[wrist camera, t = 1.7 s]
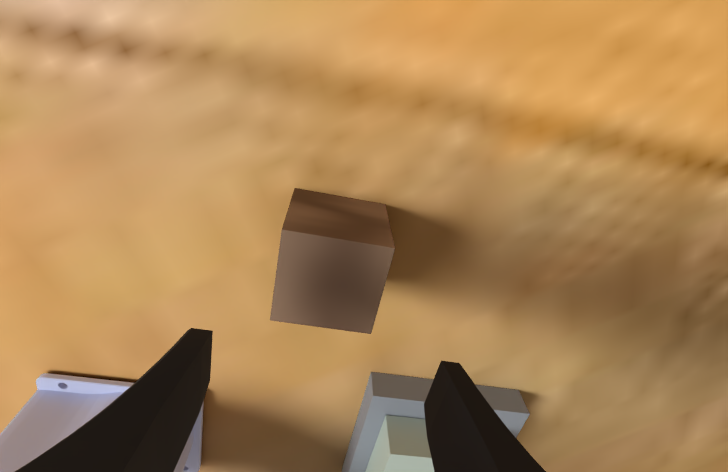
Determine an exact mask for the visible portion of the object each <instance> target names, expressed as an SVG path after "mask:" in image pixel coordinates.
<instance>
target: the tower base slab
mask: <svg viewBox="0 0 728 472" xmlns="http://www.w3.org/2000/svg"><path fill="white" fill-rule="evenodd" d="M433 380H434V379H426V378H418V377H410V376H401V375H393V374H385V373H377V372H371V374H370V377H369V380H368V384H367V387H366V390H365V394H364V397H363V400H362V404H361V407H360V410H359V414H358V417H357V420H356V424H355V427H354V430H353V434H352V437H351V440H350V444H349V447H348V450H347V453H346V457H345V460H344V463H343V467H342V472H365V471H366V468H367V465H368V462H369V460H370V457H371V454H372V451H373V449H374V446H375V443H376V440H377V438H378V435H379V432H380V429H381V427H382V424H383V421H384V418H385V416H386V415H390V416H399V417H408V418H418V419H425V412H424V403H425V400H426V398H427V395H428V393H429V390H430V388H431V385H432V383H433ZM476 387H477V388H478V390H479V391H480V392H481V394H482V395H483V396H484V398H485V399H486V401H487V402H488V403H489V405H490V406H491V407H492V409H493V410H494V411H495V413H496V414H497V415H498V416H499V418H500V419H501V420H502V422H503V423H504V424H505V425H506V427H507V428H508V429H509V430H510V432H511V433H512V434H513V435H514V436H515V438H516V437H517V435H518V434H519V432H520V430H521V428H522V427H523V425H524V423H525V421H526V420H527V418H528V416H529V415H530V413H529V411H528V409H527V407H526V405H525V403H524V401H523V398H522V396H521V394H520V392H519V390H515V389H507V388H498V387H490V386H482V385H476Z"/></svg>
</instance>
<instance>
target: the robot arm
mask: <svg viewBox="0 0 728 472" xmlns="http://www.w3.org/2000/svg"><path fill="white" fill-rule="evenodd" d="M211 350H212V331H209V330H202V329H194V328H191V329H189V330H188V331H187V332H186V333H185V334H184V335H183V336H182V337H181V338H180V339H179V340H178V342H177V343H176V344H175V345H174V346H173V347H172V348H171V349H170V350H169V351H168V352H167V353H166V354H165V355H164V356H163V357H162V358H161V359H160V360H159V361H158V362H157V363H156V364H155V365H154V366H152V367H151V368H150V369H149V370H148V371H147V372H146V373H145V374H144V375H143V376H142V377H141V378H140V379H139V380H137V381H136V382H135V383H131V382H122V381H113V380H104V379H95V378H86V377H77V376H68V375H59V374H50V373H44V374H41V375H40V376H39V377H38V379H37V380H36V385H37V389H38V390H37V391H36V392H35V393H34V395H33V396H32V397H31V398H30V399H29V401H28V402H27V403H26V404H25V405H24V406H23V408H22V409H21V410H20V411H19V412H18V414H17V415H16V416H15V417H14V418H13V419H12V421H11V422H10V423H9V424H8V425H7V427H6V428H5V429H4V430H3V431H2V432H1V434H0V472H198V471H199V469H200V466H201V450H202V426H203V403H204V397H205V394H206V391H207V388H208V385H209V381H210V370H211ZM424 412H425V423H426V432H427V439H428V444H429V449H430V453H431V458H432V463H433V467H434V472H546V471H545V470H544V469H543V468H542V467H541V466H540V465H539V464H538V463H537V462H536V461H535V460H534V459H533V457H532V456H531V455H530V454H529V453H528V452H527V451H526V449H525V448H524V447H523V446H522V445H521V444H520V442H519V441H518V440H517V439H516V438H515V436H514V435H513V434H512V433H511V432H510V430H509V429H508V428H507V427H506V425H505V424H504V423H503V422H502V420H501V419H500V418H499V416H498V415H497V414H496V413H495V411H494V410H493V409H492V407H491V406H490V405H489V403H488V402H487V401H486V399H485V398H484V396H483V395H482V394H481V392H480V391H479V390H478V388H477V387H476V385H475V384H474V383H473V381H472V380H471V379H470V377H469V376H468V374H467V373H466V372H465V370H464V369H463V368H462V366H461V365H460V364H459V363H454V362H447V361H441V363H440V365H439V368H438V370H437V373H436V375H435V378H434V380H433V383H432V385H431V388H430V390H429V393H428V395H427V398H426V400H425V403H424Z"/></svg>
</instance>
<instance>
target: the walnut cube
mask: <svg viewBox="0 0 728 472" xmlns="http://www.w3.org/2000/svg"><path fill="white" fill-rule="evenodd" d="M394 251H395V245H394V241H393V236H392V232H391V227H390V223H389V218H388V214H387V209H386V205H385V204H381V203H375V202H369V201H364V200H358V199H353V198H347V197H341V196H336V195H330V194H325V193H319V192H314V191H308V190H302V189H297V188H295V189H294V192H293V195H292V199H291V202H290V205H289V208H288V212H287V215H286V218H285V221H284V224H283V228H282V232H281V240H280V248H279V255H278V263H277V271H276V279H275V286H274V294H273V302H272V309H271V317H270V320H272V321H279V322H286V323H294V324H301V325H308V326H316V327H323V328H331V329H338V330H345V331H353V332H360V333H368V334H371V332H372V329H373V325H374V322H375V318H376V314H377V311H378V307H379V304H380V300H381V297H382V293H383V290H384V286H385V282H386V279H387V275H388V272H389V268H390V265H391V261H392V258H393V254H394Z"/></svg>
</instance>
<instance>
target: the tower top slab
mask: <svg viewBox="0 0 728 472" xmlns="http://www.w3.org/2000/svg"><path fill="white" fill-rule="evenodd" d="M365 472H434V467H433V463H432V458H431V453H430V449H429V444H428V439H427V432H426V423H425V419H418V418H408V417H399V416H390V415H386V416H385V418H384V421H383V424H382V427H381V429H380V432H379V435H378V438H377V440H376V443H375V446H374V449H373V451H372V454H371V457H370V460H369V462H368V465H367V468H366V471H365Z"/></svg>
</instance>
